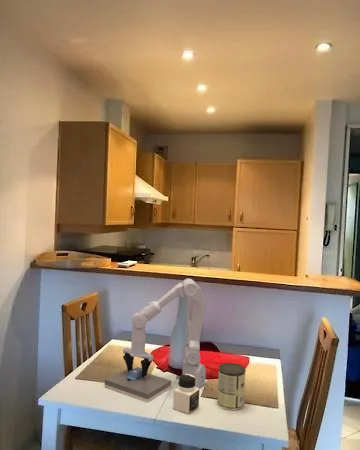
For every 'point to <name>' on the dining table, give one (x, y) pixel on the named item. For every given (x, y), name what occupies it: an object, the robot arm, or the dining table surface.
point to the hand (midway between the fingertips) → (137, 373)
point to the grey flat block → (138, 385)
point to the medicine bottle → (186, 394)
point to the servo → (135, 374)
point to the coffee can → (231, 386)
